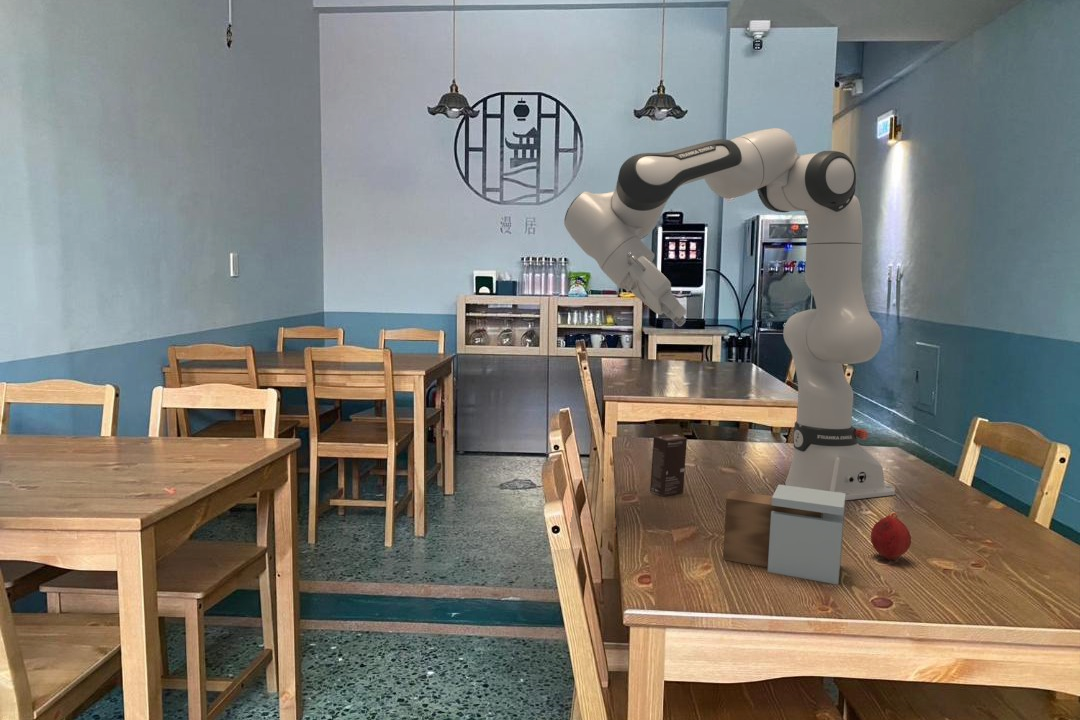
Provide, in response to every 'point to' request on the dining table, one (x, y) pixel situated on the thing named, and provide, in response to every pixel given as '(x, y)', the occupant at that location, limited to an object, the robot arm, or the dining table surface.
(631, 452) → the dining table surface
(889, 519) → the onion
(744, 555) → the walnut block
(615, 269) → the robot arm
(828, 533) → the grey slotted cube
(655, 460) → the box
